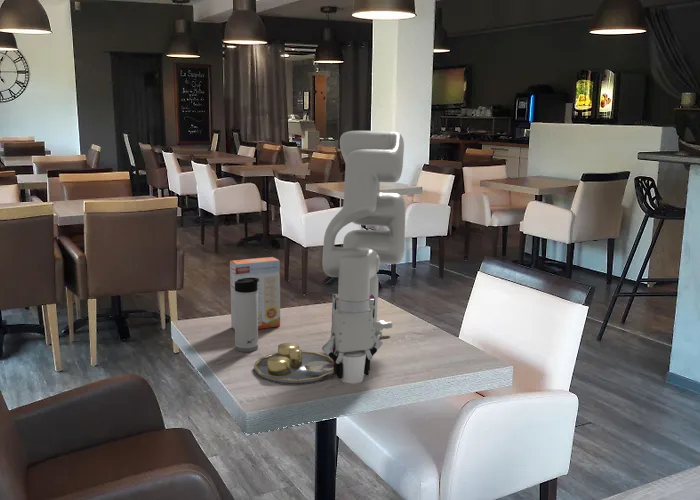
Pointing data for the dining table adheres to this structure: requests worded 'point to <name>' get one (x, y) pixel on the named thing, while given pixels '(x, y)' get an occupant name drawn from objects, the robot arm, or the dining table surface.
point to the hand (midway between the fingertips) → (351, 374)
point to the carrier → (294, 366)
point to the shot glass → (353, 366)
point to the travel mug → (246, 314)
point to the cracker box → (259, 288)
